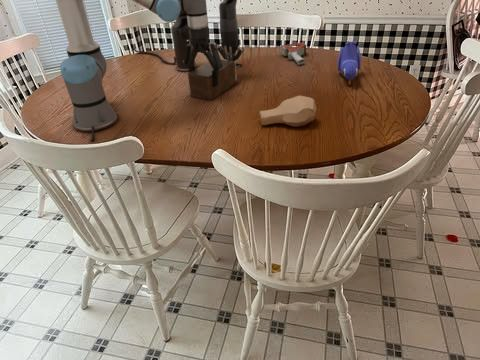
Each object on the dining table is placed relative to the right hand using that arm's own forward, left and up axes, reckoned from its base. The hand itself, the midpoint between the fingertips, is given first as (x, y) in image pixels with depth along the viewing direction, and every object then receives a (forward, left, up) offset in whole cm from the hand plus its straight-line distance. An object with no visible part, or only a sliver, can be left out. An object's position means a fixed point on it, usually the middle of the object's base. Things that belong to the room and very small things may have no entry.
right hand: (231, 69), depth 161 cm
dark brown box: (+8, -13, -4) cm, 16 cm away
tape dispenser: (-6, +39, -4) cm, 39 cm away
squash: (+52, -4, -4) cm, 52 cm away
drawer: (+5, -8, -3) cm, 10 cm away
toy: (+31, +41, -4) cm, 52 cm away
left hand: (+11, -18, +1) cm, 21 cm away
